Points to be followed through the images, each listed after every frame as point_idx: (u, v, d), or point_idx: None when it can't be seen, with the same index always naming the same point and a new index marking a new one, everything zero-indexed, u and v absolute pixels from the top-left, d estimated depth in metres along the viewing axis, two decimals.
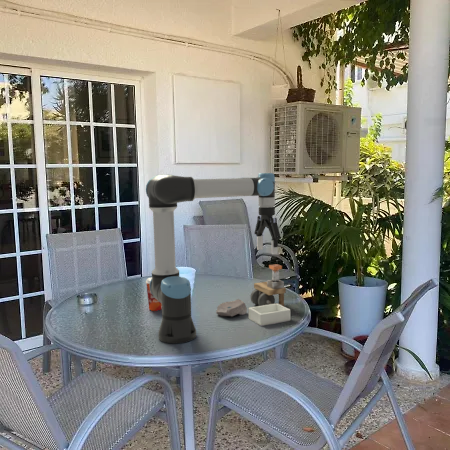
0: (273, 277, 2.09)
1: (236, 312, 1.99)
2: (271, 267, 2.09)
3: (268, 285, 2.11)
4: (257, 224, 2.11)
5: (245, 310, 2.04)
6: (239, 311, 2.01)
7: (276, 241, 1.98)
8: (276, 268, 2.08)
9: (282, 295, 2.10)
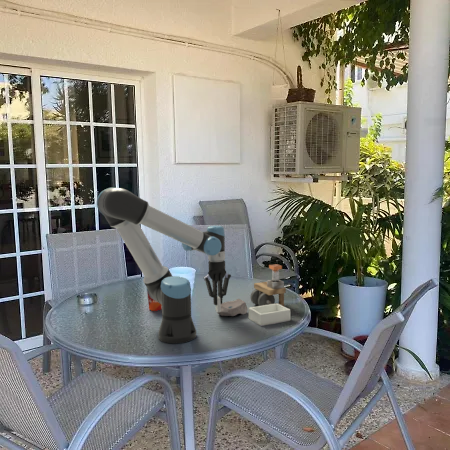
0: (273, 277, 2.09)
1: (237, 312, 2.00)
2: (271, 267, 2.09)
3: (268, 285, 2.11)
4: (224, 281, 2.02)
5: (246, 310, 2.05)
6: (240, 311, 2.01)
7: (214, 299, 1.99)
8: (276, 268, 2.08)
9: (282, 295, 2.10)
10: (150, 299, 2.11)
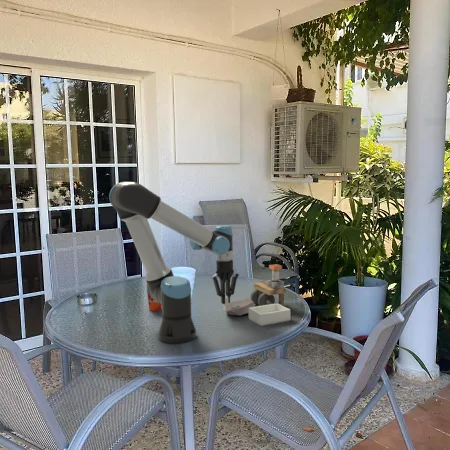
0: (273, 277, 2.09)
1: (244, 311, 2.00)
2: (271, 267, 2.09)
3: (268, 285, 2.11)
4: (231, 281, 2.03)
5: None
6: None
7: (221, 298, 2.01)
8: (276, 268, 2.08)
9: (282, 295, 2.10)
10: (150, 299, 2.11)
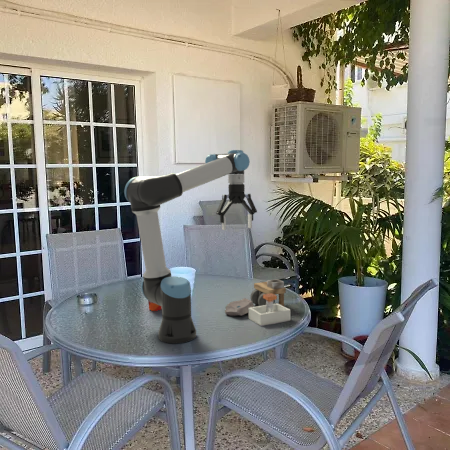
0: (267, 308, 1.94)
1: (246, 311, 2.01)
2: (265, 297, 1.94)
3: (268, 285, 2.11)
4: (248, 202, 2.11)
5: None
6: None
7: (220, 217, 2.04)
8: (271, 298, 1.92)
9: (282, 295, 2.10)
10: None
